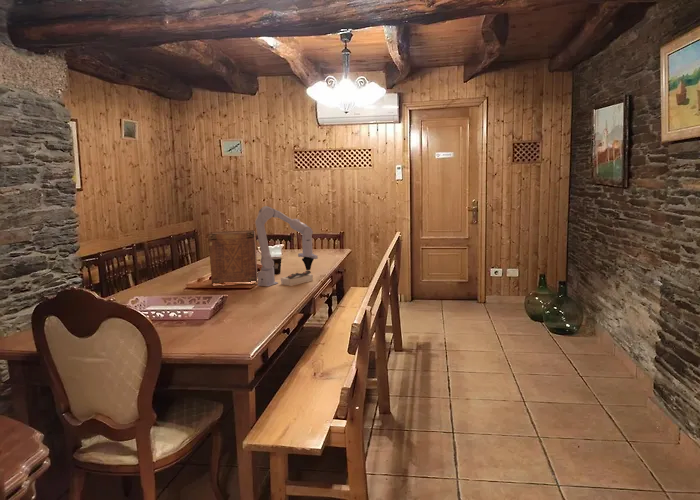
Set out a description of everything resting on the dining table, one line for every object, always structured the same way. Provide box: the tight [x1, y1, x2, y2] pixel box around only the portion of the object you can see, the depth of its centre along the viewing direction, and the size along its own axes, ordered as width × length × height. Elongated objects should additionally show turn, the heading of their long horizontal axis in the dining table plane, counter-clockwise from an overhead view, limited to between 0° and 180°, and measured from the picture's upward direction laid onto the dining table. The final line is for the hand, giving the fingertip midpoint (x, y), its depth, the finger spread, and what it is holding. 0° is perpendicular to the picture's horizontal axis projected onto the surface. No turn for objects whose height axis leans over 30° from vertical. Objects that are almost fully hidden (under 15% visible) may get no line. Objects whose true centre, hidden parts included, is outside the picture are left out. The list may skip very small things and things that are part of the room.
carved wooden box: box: [207, 229, 258, 284], centre depth 295 cm, size 25×9×30 cm, turn 96°
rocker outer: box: [301, 270, 311, 275], centre depth 298 cm, size 4×3×1 cm
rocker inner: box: [287, 273, 296, 279], centre depth 290 cm, size 4×3×1 cm
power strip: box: [280, 273, 314, 287], centre depth 295 cm, size 17×8×4 cm, turn 137°
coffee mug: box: [261, 256, 282, 276], centre depth 322 cm, size 12×9×10 cm
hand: (308, 270), depth 299 cm, fingers closed
